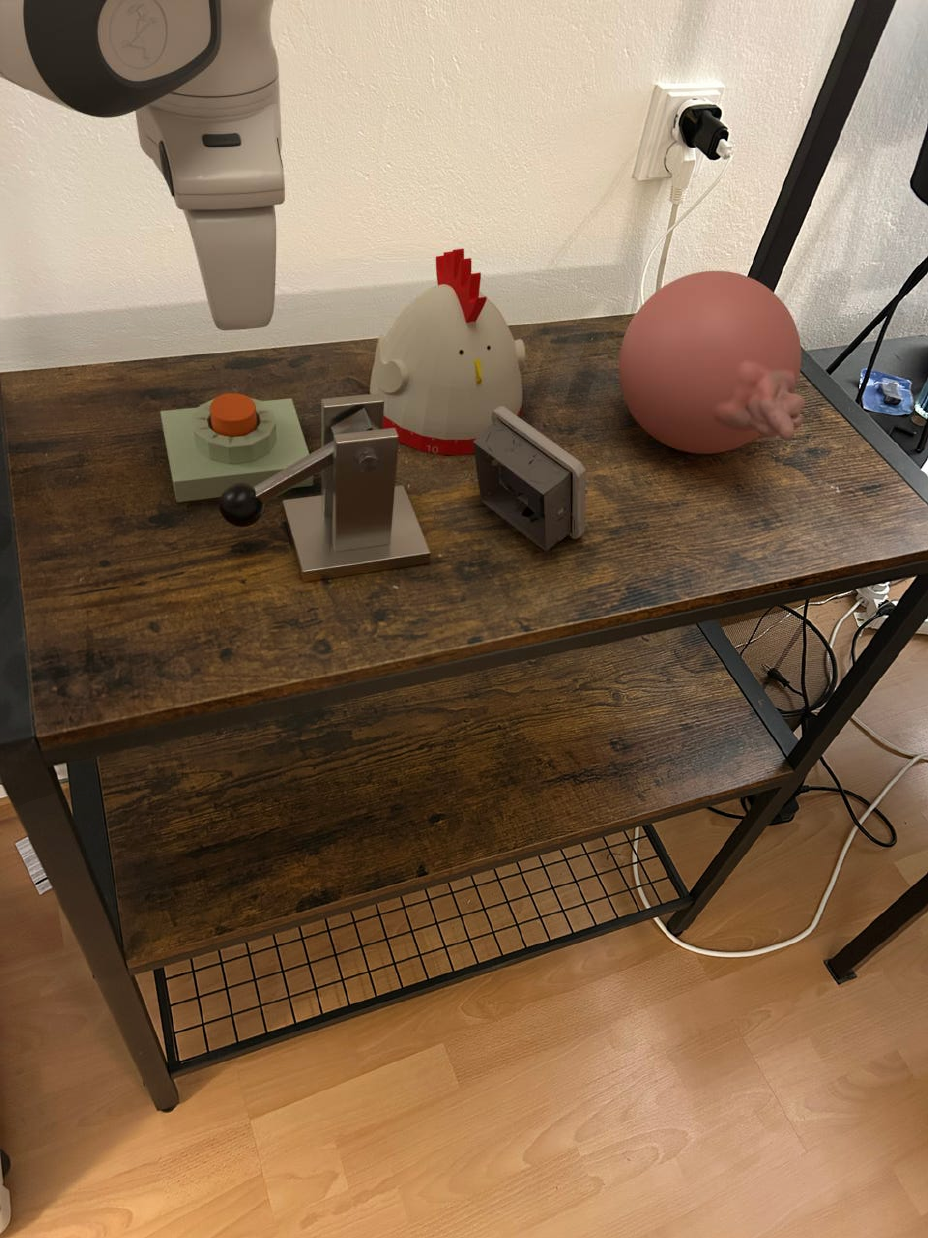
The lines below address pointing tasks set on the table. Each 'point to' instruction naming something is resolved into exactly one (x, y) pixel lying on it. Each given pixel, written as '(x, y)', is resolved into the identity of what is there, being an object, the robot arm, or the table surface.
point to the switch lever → (285, 476)
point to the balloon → (712, 364)
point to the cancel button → (233, 415)
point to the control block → (230, 449)
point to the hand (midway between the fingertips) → (227, 312)
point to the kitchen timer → (448, 364)
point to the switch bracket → (356, 502)
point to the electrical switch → (530, 480)
